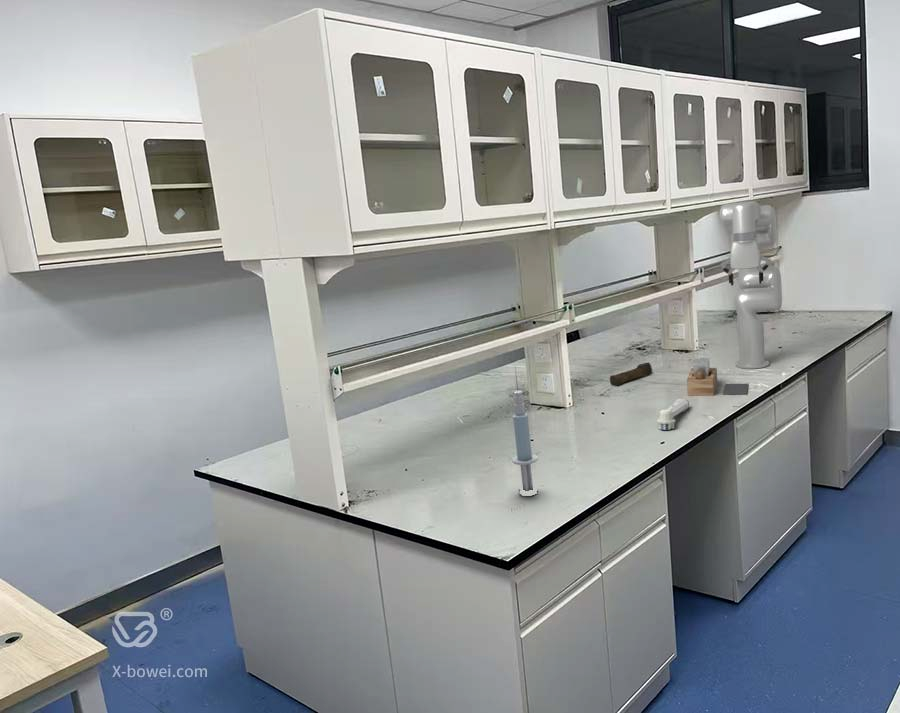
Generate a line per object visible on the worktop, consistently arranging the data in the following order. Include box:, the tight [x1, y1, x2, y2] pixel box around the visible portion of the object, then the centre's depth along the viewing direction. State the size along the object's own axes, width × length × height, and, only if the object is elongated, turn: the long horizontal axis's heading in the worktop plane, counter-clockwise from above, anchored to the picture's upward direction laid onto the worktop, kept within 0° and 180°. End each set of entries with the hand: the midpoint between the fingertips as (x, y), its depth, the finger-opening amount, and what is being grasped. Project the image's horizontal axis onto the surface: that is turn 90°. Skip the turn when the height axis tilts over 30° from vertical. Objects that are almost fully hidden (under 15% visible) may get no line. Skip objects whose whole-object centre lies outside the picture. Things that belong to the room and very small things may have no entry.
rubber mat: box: [722, 382, 749, 396], centre depth 260 cm, size 14×8×1 cm, turn 156°
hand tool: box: [609, 362, 653, 387], centre depth 291 cm, size 23×5×6 cm, turn 121°
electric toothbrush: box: [656, 398, 690, 431], centre depth 235 cm, size 5×7×25 cm
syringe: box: [511, 367, 539, 491], centre depth 186 cm, size 6×7×36 cm
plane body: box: [686, 367, 718, 397], centre depth 264 cm, size 18×9×10 cm, turn 156°
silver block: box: [692, 357, 711, 377], centre depth 264 cm, size 7×5×8 cm
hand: (746, 284), depth 262 cm, fingers open, 9 cm apart
